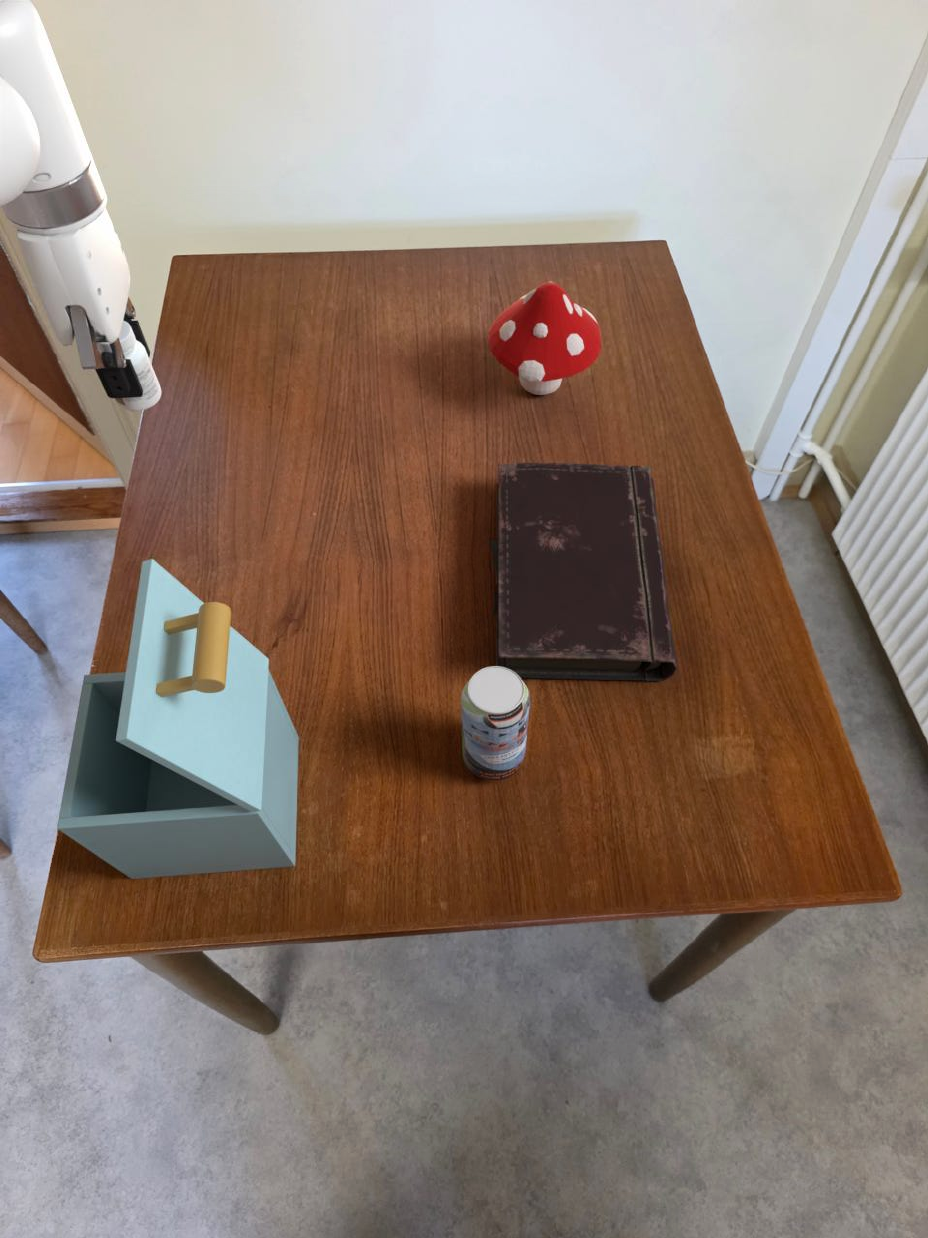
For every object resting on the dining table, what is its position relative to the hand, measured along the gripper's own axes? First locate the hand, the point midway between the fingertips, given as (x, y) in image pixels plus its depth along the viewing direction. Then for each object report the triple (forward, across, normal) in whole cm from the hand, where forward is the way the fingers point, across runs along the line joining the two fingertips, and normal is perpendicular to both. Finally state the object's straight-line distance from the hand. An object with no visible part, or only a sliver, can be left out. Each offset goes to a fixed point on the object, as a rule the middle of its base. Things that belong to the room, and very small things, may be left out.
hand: (129, 374), depth 77 cm
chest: (+21, +35, +6) cm, 41 cm away
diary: (+20, +13, +43) cm, 49 cm away
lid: (-3, +36, +10) cm, 37 cm away
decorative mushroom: (+20, -17, +43) cm, 51 cm away
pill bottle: (+3, 0, 0) cm, 3 cm away
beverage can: (+21, +32, +32) cm, 50 cm away
